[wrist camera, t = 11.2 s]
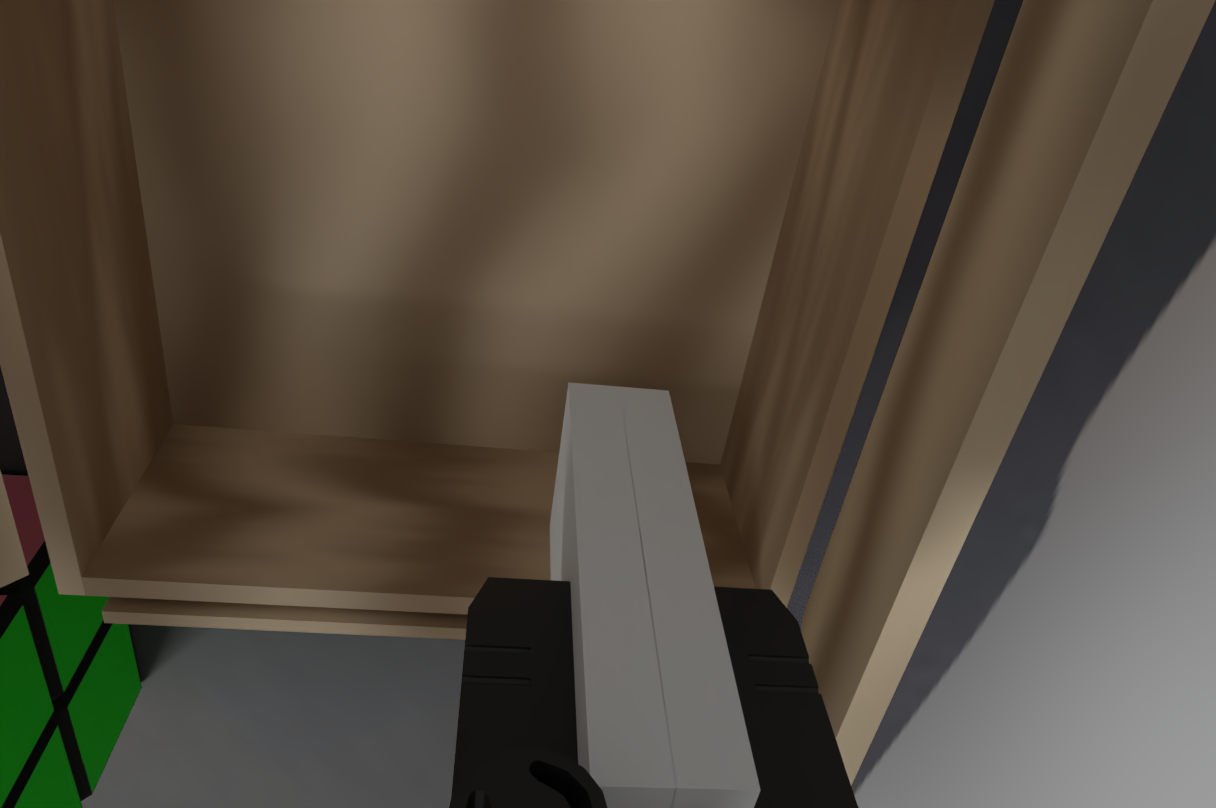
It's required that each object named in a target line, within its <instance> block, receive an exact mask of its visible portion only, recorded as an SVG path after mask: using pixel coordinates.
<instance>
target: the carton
mask: <svg viewBox="0 0 1216 808" xmlns="http://www.w3.org/2000/svg"><path fill="white" fill-rule="evenodd" d="M994 1H995V0H0V366H1V370H2V374H3V378H4V382H5V386H6V390H7V394H8V398H9V402H10V405H11V409H12V413H13V417H14V421H15V425H16V429H17V433H18V437H19V441H20V445H21V448H22V452H23V456H24V460H25V464H26V468H27V472H28V476H29V480H30V484H31V488H32V491H33V495H34V499H35V503H36V507H37V511H38V515H39V519H40V523H41V527H42V530H43V534H44V538H45V542H46V546H47V550H48V554H49V558H50V562H51V566H52V570H53V573H54V577H55V581H56V585H57V589H58V593H59V594H64V595H84V596H105V597H109V599H108V601H107V602H106V604H105V606H104V608H103V610H102V615H103V620H104V623H115V624H136V625H158V626H180V627H201V628H223V629H245V630H266V631H288V632H310V633H331V634H353V635H375V636H396V637H418V638H440V639H461V640H465V639H466V627H467V616H468V607H469V606H470V604H471V603H472V601H473V600H474V598H475V597H476V595H477V594H478V592H479V591H480V589H481V588H482V586H483V584H484V583H485V581H486V580H487V578H488V577H498V578H517V579H535V580H551V570H550V519H551V511H552V504H553V496H554V489H555V481H556V473H557V466H558V458H559V451H560V443H561V435H562V428H563V420H564V413H565V405H566V397H567V390H568V382H569V383H582V384H594V385H606V386H618V387H631V388H643V389H655V390H667V391H669V394H670V398H671V403H672V407H673V411H674V416H675V420H676V424H677V429H678V433H679V437H680V442H681V446H682V450H683V455H684V459H685V464H686V468H687V472H688V477H689V481H690V485H691V490H692V494H693V498H694V503H695V507H696V511H697V516H698V520H699V524H700V529H701V533H702V538H703V542H704V546H705V551H706V555H707V559H708V564H709V568H710V572H711V577H712V581H713V585H714V587H732V588H751V589H769V590H772V591H773V592H774V593H775V594H776V596H777V597H778V598H779V599H780V600H781V602H782V603H783V604H784V605H785V607H786V608H787V606H788V603H789V600H790V597H791V594H792V591H793V588H794V585H795V582H796V579H797V576H798V573H799V571H800V568H801V565H802V562H803V559H804V556H805V553H806V550H807V547H808V544H809V541H810V538H811V536H812V533H813V530H814V527H815V524H816V521H817V518H818V515H819V512H820V509H821V506H822V503H823V500H824V498H825V495H826V492H827V489H828V486H829V483H830V480H831V477H832V474H833V471H834V468H835V465H836V463H837V460H838V457H839V454H840V451H841V448H842V445H843V442H844V439H845V436H846V433H847V430H848V427H849V425H850V422H851V419H852V416H853V413H854V410H855V407H856V404H857V401H858V398H859V395H860V392H861V390H862V387H863V384H864V381H865V378H866V375H867V372H868V369H869V366H870V363H871V360H872V357H873V355H874V352H875V349H876V346H877V343H878V340H879V337H880V334H881V331H882V328H883V325H884V322H885V319H886V317H887V314H888V311H889V308H890V305H891V302H892V299H893V296H894V293H895V290H896V287H897V284H898V282H899V279H900V276H901V273H902V270H903V267H904V264H905V261H906V258H907V255H908V252H909V249H910V246H911V244H912V241H913V238H914V235H915V232H916V229H917V226H918V223H919V220H920V217H921V214H922V211H923V209H924V206H925V203H926V200H927V197H928V194H929V191H930V188H931V185H932V182H933V179H934V176H935V173H936V171H937V168H938V165H939V162H940V159H941V156H942V153H943V150H944V147H945V144H946V141H947V138H948V136H949V133H950V130H951V127H952V124H953V121H954V118H955V115H956V112H957V109H958V106H959V103H960V100H961V98H962V95H963V92H964V89H965V86H966V83H967V80H968V77H969V74H970V71H971V68H972V65H973V63H974V60H975V57H976V54H977V51H978V48H979V45H980V42H981V39H982V36H983V33H984V30H985V28H986V25H987V22H988V19H989V16H990V13H991V10H992V7H993V4H994Z"/></svg>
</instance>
